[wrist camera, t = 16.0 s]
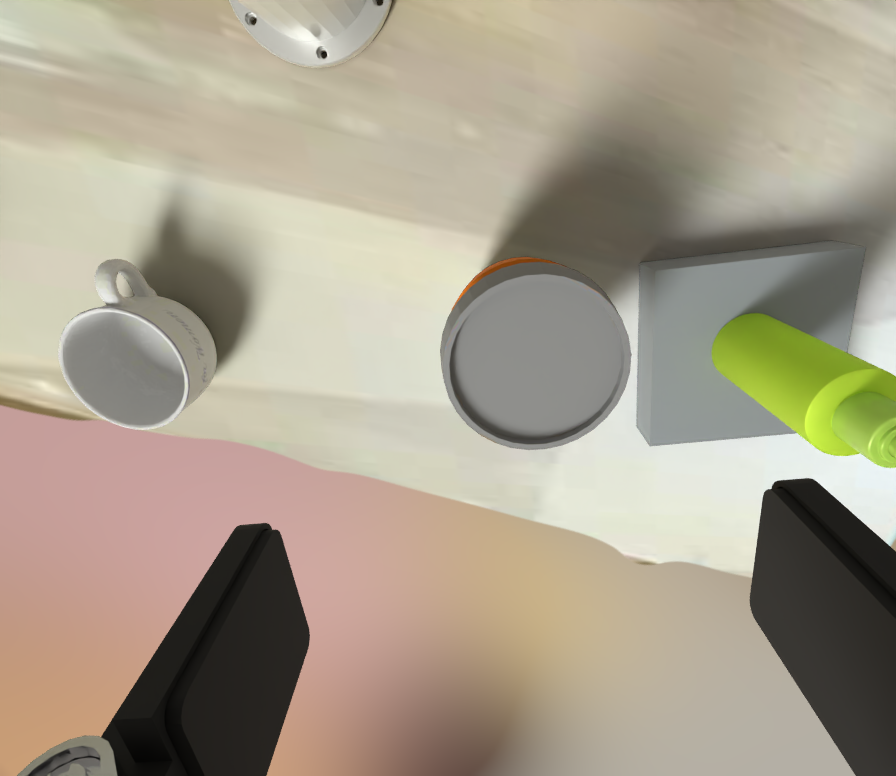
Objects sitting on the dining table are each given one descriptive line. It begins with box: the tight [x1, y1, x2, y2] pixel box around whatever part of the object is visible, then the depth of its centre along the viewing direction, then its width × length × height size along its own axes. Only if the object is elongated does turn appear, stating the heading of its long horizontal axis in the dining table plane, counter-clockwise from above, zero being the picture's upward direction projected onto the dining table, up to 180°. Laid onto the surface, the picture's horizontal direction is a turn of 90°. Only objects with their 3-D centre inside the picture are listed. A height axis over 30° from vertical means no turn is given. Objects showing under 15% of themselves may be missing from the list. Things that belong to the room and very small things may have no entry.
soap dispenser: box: [712, 313, 896, 468], centre depth 35 cm, size 6×7×20 cm
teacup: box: [58, 259, 217, 430], centre depth 45 cm, size 14×11×8 cm
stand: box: [637, 241, 866, 446], centre depth 46 cm, size 16×16×4 cm
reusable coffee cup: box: [440, 257, 631, 450], centre depth 40 cm, size 13×12×15 cm
